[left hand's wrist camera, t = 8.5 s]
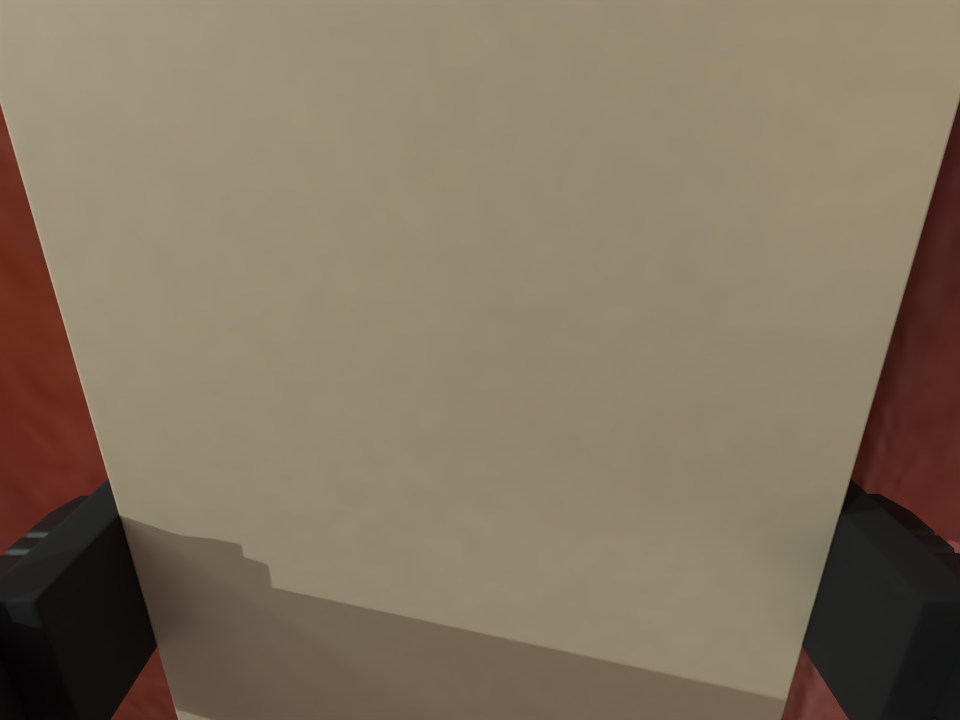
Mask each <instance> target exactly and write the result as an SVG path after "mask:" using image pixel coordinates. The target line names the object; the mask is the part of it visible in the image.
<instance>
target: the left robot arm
mask: <svg viewBox="0 0 960 720" xmlns="http://www.w3.org/2000/svg"><path fill="white" fill-rule="evenodd" d="M156 647H157V644H156V640H155V637H154V633H153V630H152V626H151V623H150V619H149V616H148V613H147V609H146V606H145V602H144V599H143V595H142V592H141V588H140V585H139V581H138V578H137V574H136V571H135V568H134V564H133V561H132V557H131V554H130V550H129V547H128V543H127V540H126V536H125V533H124V529H123V526H122V522H121V519H120V516H119V512H118V509H117V505H116V502H115V498H114V495H113V491H112V488H111V484H110V481H109V479H108V480H107V481H106V482H105V483H103V484H102V485H101V486H100V487H99V488H98V489H97V490H96V491H95V492H94V493H92V494H91V495H90V496H80V497H78V498H76V499H74V500H72V501H71V502H69V503H67V504H65V505H63V506H62V507H60V508H58V509H56V510H54V511H53V512H51V513H49V514H48V515H47V516H46V517H45V518H43V519H42V520H41V521H40V522H39V523H38V524H36V525H35V526H34V527H33V528H32V529H31V530H29V531H28V532H27V533H26V536H25V538H20V539H19V540H18V541H17V542H16V543H14V544H13V545H12V546H11V547H10V548H9V549H8V550H6V554H5V555H1V556H0V720H110V719H111V718H112V716H113V715H114V713H115V711H116V710H117V708H118V707H119V705H120V704H121V702H122V701H123V699H124V697H125V696H126V694H127V693H128V691H129V690H130V688H131V686H132V685H133V683H134V682H135V680H136V679H137V677H138V675H139V674H140V672H141V671H142V669H143V668H144V666H145V664H146V663H147V661H148V660H149V658H150V657H151V655H152V654H153V652H154V650H155V649H156ZM802 647H803V648H804V650H805V651H806V653H807V654H808V656H809V658H810V659H811V661H812V662H813V664H814V665H815V667H816V669H817V670H818V672H819V673H820V675H821V676H822V678H823V680H824V681H825V683H826V684H827V686H828V687H829V689H830V690H831V692H832V694H833V695H834V697H835V698H836V700H837V701H838V703H839V705H840V706H841V708H842V709H843V711H844V712H845V714H846V716H847V717H848V719H849V720H934V719H935V720H960V553H955V552H954V548H953V547H952V546H950V545H949V544H948V543H947V542H946V541H945V540H943V539H942V538H941V537H940V536H935V535H934V531H933V530H932V529H931V528H929V527H928V526H927V525H926V524H925V523H924V522H922V521H921V520H920V519H919V518H918V517H917V516H915V515H914V514H913V513H912V512H911V511H909V510H907V509H906V508H904V507H902V506H900V505H898V504H897V503H895V502H893V501H891V500H889V499H888V498H886V497H884V496H882V495H880V494H867V493H866V492H865V491H864V490H863V489H861V488H860V487H859V486H858V485H857V484H856V483H855V482H854V481H853V480H852V479H850V482H849V486H848V489H847V493H846V496H845V500H844V503H843V506H842V510H841V513H840V517H839V520H838V524H837V527H836V531H835V534H834V538H833V541H832V545H831V548H830V552H829V555H828V558H827V562H826V565H825V569H824V572H823V576H822V579H821V583H820V586H819V590H818V593H817V597H816V600H815V604H814V607H813V610H812V614H811V617H810V621H809V624H808V628H807V631H806V635H805V638H804V642H803V645H802Z"/></svg>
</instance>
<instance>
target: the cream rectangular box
mask: <svg viewBox="0 0 960 720" xmlns="http://www.w3.org/2000/svg"><path fill="white" fill-rule="evenodd" d="M959 101H960V0H0V103H1V107H2V110H3V114H4V117H5V121H6V124H7V127H8V131H9V134H10V138H11V141H12V145H13V148H14V152H15V155H16V159H17V162H18V166H19V169H20V173H21V176H22V179H23V183H24V186H25V190H26V193H27V197H28V200H29V204H30V207H31V211H32V214H33V218H34V221H35V225H36V228H37V231H38V235H39V238H40V242H41V245H42V249H43V252H44V256H45V259H46V263H47V266H48V270H49V273H50V276H51V280H52V283H53V287H54V290H55V294H56V297H57V301H58V304H59V308H60V311H61V315H62V318H63V322H64V325H65V328H66V332H67V335H68V339H69V342H70V346H71V349H72V353H73V356H74V360H75V363H76V367H77V370H78V373H79V377H80V380H81V384H82V387H83V391H84V394H85V398H86V401H87V405H88V408H89V412H90V415H91V419H92V422H93V425H94V429H95V432H96V436H97V439H98V443H99V446H100V450H101V453H102V457H103V460H104V464H105V467H106V471H107V474H108V477H109V481H110V484H111V488H112V491H113V495H114V498H115V502H116V505H117V509H118V512H119V516H120V519H121V522H122V526H123V529H124V533H125V536H126V540H127V543H128V547H129V550H130V554H131V557H132V561H133V564H134V568H135V571H136V574H137V578H138V581H139V585H140V588H141V592H142V595H143V599H144V602H145V606H146V609H147V613H148V616H149V619H150V623H151V626H152V630H153V633H154V637H155V640H156V644H157V647H158V651H159V654H160V658H161V661H162V665H163V668H164V671H165V675H166V678H167V682H168V685H169V689H170V692H171V696H172V699H173V703H174V706H175V710H176V713H177V717H178V720H781V718H782V714H783V711H784V708H785V704H786V701H787V697H788V694H789V690H790V687H791V683H792V680H793V676H794V673H795V669H796V666H797V662H798V659H799V656H800V652H801V649H802V645H803V642H804V638H805V635H806V631H807V628H808V624H809V621H810V617H811V614H812V610H813V607H814V604H815V600H816V597H817V593H818V590H819V586H820V583H821V579H822V576H823V572H824V569H825V565H826V562H827V558H828V555H829V552H830V548H831V545H832V541H833V538H834V534H835V531H836V527H837V524H838V520H839V517H840V513H841V510H842V506H843V503H844V500H845V496H846V493H847V489H848V486H849V482H850V479H851V475H852V472H853V468H854V465H855V461H856V458H857V454H858V451H859V448H860V444H861V441H862V437H863V434H864V430H865V427H866V423H867V420H868V416H869V413H870V409H871V406H872V402H873V399H874V396H875V392H876V389H877V385H878V382H879V378H880V375H881V371H882V368H883V364H884V361H885V357H886V354H887V351H888V347H889V344H890V340H891V337H892V333H893V330H894V326H895V323H896V319H897V316H898V312H899V309H900V305H901V302H902V299H903V295H904V292H905V288H906V285H907V281H908V278H909V274H910V271H911V267H912V264H913V260H914V257H915V253H916V250H917V247H918V243H919V240H920V236H921V233H922V229H923V226H924V222H925V219H926V215H927V212H928V208H929V205H930V201H931V198H932V195H933V191H934V188H935V184H936V181H937V177H938V174H939V170H940V167H941V163H942V160H943V156H944V153H945V149H946V146H947V143H948V139H949V136H950V132H951V129H952V125H953V122H954V118H955V115H956V111H957V108H958V104H959Z"/></svg>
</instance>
